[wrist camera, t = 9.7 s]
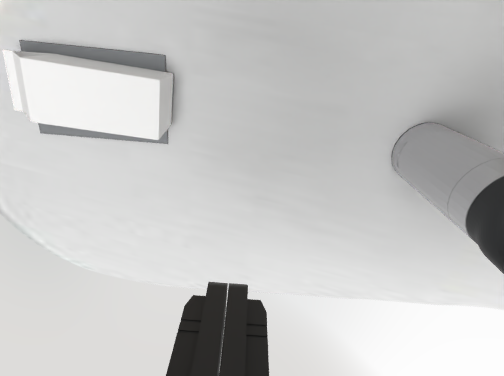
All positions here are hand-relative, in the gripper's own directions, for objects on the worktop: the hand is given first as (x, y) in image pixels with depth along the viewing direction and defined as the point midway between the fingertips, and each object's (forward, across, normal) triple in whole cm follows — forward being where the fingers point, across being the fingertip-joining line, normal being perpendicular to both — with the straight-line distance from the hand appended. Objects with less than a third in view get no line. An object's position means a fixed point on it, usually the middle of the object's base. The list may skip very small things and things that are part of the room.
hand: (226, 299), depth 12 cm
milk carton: (+30, +10, -1) cm, 32 cm away
